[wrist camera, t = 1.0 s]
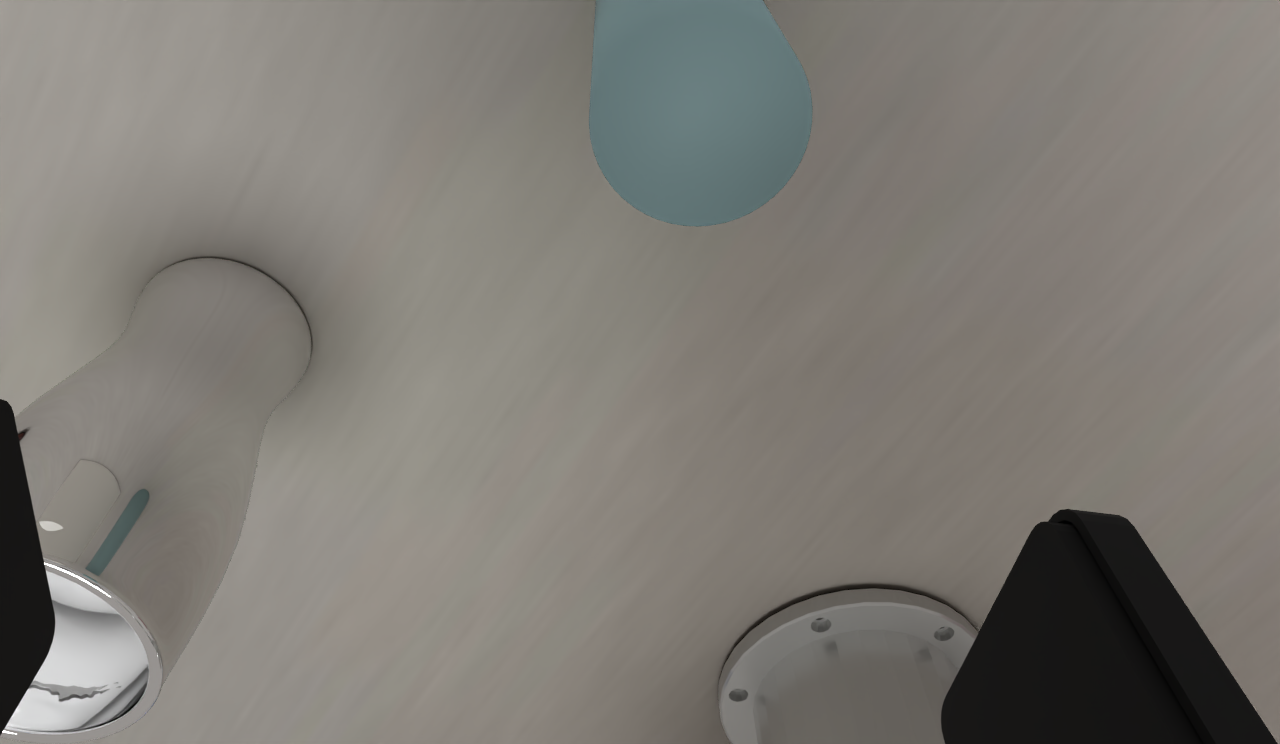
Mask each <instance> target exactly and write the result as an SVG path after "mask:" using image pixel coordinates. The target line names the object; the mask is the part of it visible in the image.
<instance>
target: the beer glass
mask: <svg viewBox="0 0 1280 744" xmlns="http://www.w3.org/2000/svg"><path fill="white" fill-rule="evenodd" d="M310 357H311V335H310V330H309V326H308V323H307V321H306V318H305V316H304V314H303V312H302V310H301V309H300V307H299V306H298V304H297V303H296V301H295V300H294V299H293V298H292V296H291V295H290V294H289V293H288V292H287V291H286V290H285V289H284V288H283V287H282V286H281V285H279V284H278V283H277V282H276V281H274V280H273V279H271V278H270V277H269V276H267V275H265V274H264V273H262V272H260V271H258V270H256V269H254V268H252V267H250V266H247V265H245V264H242V263H238V262H235V261H231V260H226V259H219V258H196V259H190V260H185V261H182V262H179V263H176V264H173V265H171V266H169V267H167V268H165V269H164V270H162V271H161V272H159V273H158V274H156V275H155V276H154V277H153V278H152V279H151V280H150V281H149V282H148V284H147V285H146V286H145V288H144V289H143V290H142V292H141V294H140V296H139V298H138V300H137V302H136V304H135V306H134V309H133V311H132V314H131V316H130V319H129V321H128V324H127V326H126V328H125V330H124V332H123V333H122V334H121V336H120V337H119V338H118V339H117V340H116V341H115V342H114V343H113V344H112V345H111V346H110V347H109V348H108V349H106V350H105V351H104V352H102V353H101V354H100V355H98V356H97V357H96V358H94V359H93V360H92V361H90V362H89V363H87V364H86V365H84V366H83V367H81V368H80V369H79V370H77V371H76V372H74V373H73V374H71V375H70V376H68V377H67V378H66V379H64V380H63V381H61V382H60V383H58V384H57V385H56V386H54V387H53V388H51V389H50V390H49V391H47V392H46V393H44V394H43V395H42V396H40V397H39V398H38V399H36V400H35V401H34V402H33V403H31V404H30V405H29V406H28V407H26V408H25V409H24V410H23V411H21V412H20V413H19V414H18V415H17V416H15V422H16V427H17V432H18V437H19V442H20V447H21V451H22V456H23V461H24V466H25V471H26V476H27V481H28V486H29V491H30V496H31V501H32V505H33V510H34V515H35V520H36V525H37V530H38V535H39V540H40V545H41V550H42V554H43V559H44V564H45V569H46V574H47V579H48V584H49V589H50V594H51V599H52V604H53V608H54V613H55V633H54V637H53V642H52V645H51V648H50V651H49V653H48V655H47V657H46V659H45V661H44V663H43V664H42V666H41V668H40V670H39V671H38V673H37V675H36V676H35V678H34V680H33V681H32V683H31V685H30V686H29V688H28V690H27V691H26V693H25V695H24V697H23V698H22V700H21V702H20V703H19V705H18V707H17V708H16V710H15V712H14V713H13V715H12V717H11V719H10V720H9V722H8V724H7V725H6V727H5V729H4V730H3V732H2V734H1V735H0V737H2V738H6V739H11V740H17V741H23V742H31V743H42V744H68V743H79V742H86V741H91V740H96V739H100V738H103V737H107V736H110V735H112V734H115V733H117V732H119V731H122V730H124V729H126V728H127V727H129V726H131V725H132V724H134V723H135V722H137V721H138V720H139V719H141V718H142V717H143V716H144V715H145V714H146V713H147V712H148V711H149V710H150V709H151V707H152V706H153V705H154V703H155V702H156V700H157V698H158V696H159V694H160V691H161V688H162V686H163V684H164V683H165V681H166V679H167V678H168V676H169V674H170V672H171V671H172V669H173V667H174V666H175V664H176V663H177V661H178V659H179V658H180V656H181V654H182V653H183V651H184V650H185V648H186V646H187V645H188V643H189V641H190V639H191V638H192V636H193V634H194V633H195V631H196V629H197V627H198V626H199V624H200V622H201V621H202V619H203V617H204V615H205V613H206V611H207V609H208V608H209V606H210V604H211V602H212V600H213V598H214V596H215V594H216V592H217V590H218V588H219V586H220V584H221V582H222V580H223V578H224V576H225V573H226V571H227V568H228V566H229V563H230V561H231V559H232V556H233V554H234V551H235V549H236V547H237V544H238V541H239V538H240V534H241V531H242V527H243V524H244V520H245V517H246V513H247V509H248V506H249V502H250V497H251V492H252V487H253V482H254V477H255V472H256V467H257V462H258V456H259V451H260V446H261V441H262V437H263V433H264V429H265V427H266V424H267V422H268V419H269V417H270V416H271V414H272V412H273V411H274V410H275V409H276V407H277V406H278V405H279V404H280V403H281V402H282V401H283V400H284V399H285V398H286V397H287V396H288V395H289V394H290V393H291V392H292V391H293V389H294V388H295V387H296V386H297V385H298V383H299V382H300V380H301V379H302V377H303V376H304V374H305V372H306V370H307V368H308V365H309V361H310Z"/></svg>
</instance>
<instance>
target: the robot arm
mask: <svg viewBox="0 0 1280 744" xmlns="http://www.w3.org/2000/svg"><path fill="white" fill-rule="evenodd" d="M54 633H55V613H54V608H53V604H52V599H51V594H50V589H49V584H48V579H47V574H46V569H45V564H44V559H43V554H42V550H41V545H40V540H39V535H38V530H37V525H36V520H35V515H34V510H33V505H32V501H31V496H30V491H29V486H28V481H27V476H26V471H25V466H24V461H23V456H22V451H21V447H20V442H19V437H18V432H17V427H16V422H15V417H14V413H13V410H12V407H11V406H10V405H9V403H8V402H7V401H4V400H2V399H0V735H1V734H2V732H3V730H4V729H5V727H6V725H7V724H8V722H9V720H10V719H11V717H12V715H13V713H14V712H15V710H16V708H17V707H18V705H19V703H20V702H21V700H22V698H23V697H24V695H25V693H26V691H27V690H28V688H29V686H30V685H31V683H32V681H33V680H34V678H35V676H36V675H37V673H38V671H39V670H40V668H41V666H42V664H43V663H44V661H45V659H46V657H47V655H48V653H49V651H50V648H51V645H52V642H53V637H54ZM718 704H719V711H720V718H721V724H722V726H723V729H724V731H725V733H726V736H727V738H728V740H729V741H730V742H731V744H1277V742H1276V741H1275V739H1274V738H1273V736H1272V735H1271V733H1270V732H1269V730H1268V729H1267V727H1266V726H1265V724H1264V722H1263V721H1262V719H1261V718H1260V716H1259V715H1258V713H1257V712H1256V710H1255V709H1254V707H1253V706H1252V704H1251V703H1250V701H1249V700H1248V698H1247V697H1246V695H1245V694H1244V692H1243V691H1242V689H1241V688H1240V686H1239V685H1238V683H1237V682H1236V680H1235V679H1234V677H1233V676H1232V674H1231V673H1230V671H1229V670H1228V668H1227V666H1226V665H1225V663H1224V662H1223V660H1222V659H1221V657H1220V656H1219V654H1218V653H1217V651H1216V650H1215V648H1214V647H1213V645H1212V644H1211V642H1210V641H1209V639H1208V638H1207V636H1206V635H1205V633H1204V632H1203V630H1202V629H1201V627H1200V626H1199V624H1198V623H1197V621H1196V620H1195V618H1194V617H1193V615H1192V614H1191V612H1190V610H1189V609H1188V607H1187V606H1186V604H1185V603H1184V601H1183V600H1182V598H1181V597H1180V595H1179V594H1178V592H1177V591H1176V589H1175V588H1174V586H1173V585H1172V583H1171V582H1170V580H1169V579H1168V577H1167V576H1166V574H1165V573H1164V571H1163V570H1162V568H1161V567H1160V565H1159V564H1158V562H1157V561H1156V559H1155V558H1154V556H1153V554H1152V553H1151V551H1150V550H1149V548H1148V547H1147V545H1146V544H1145V542H1144V541H1143V539H1142V538H1141V536H1140V535H1139V533H1138V532H1137V530H1136V529H1135V527H1134V526H1133V525H1132V524H1131V523H1130V522H1129V521H1128V519H1126V518H1124V517H1122V516H1119V515H1112V514H1104V513H1096V512H1087V511H1079V510H1070V509H1065V510H1060V511H1058V512H1057V513H1055V514H1054V515H1053V516H1052V517H1051V519H1050V520H1049V521H1048V522H1040V523H1039V524H1037V525H1036V526H1035V527H1034V529H1033V530H1032V531H1031V533H1030V535H1029V537H1028V539H1027V541H1026V543H1025V545H1024V547H1023V548H1022V550H1021V552H1020V554H1019V556H1018V558H1017V560H1016V562H1015V564H1014V566H1013V568H1012V570H1011V572H1010V573H1009V575H1008V577H1007V579H1006V581H1005V583H1004V585H1003V587H1002V589H1001V591H1000V593H999V595H998V597H997V598H996V600H995V602H994V604H993V606H992V608H991V610H990V612H989V614H988V616H987V618H986V620H985V622H984V624H983V625H982V627H981V629H980V631H979V633H978V632H977V631H976V629H975V628H974V627H973V626H972V625H971V624H970V623H969V622H968V621H967V620H966V618H965V617H963V616H962V615H960V614H959V613H957V612H956V611H954V610H953V609H952V608H950V607H949V606H947V605H945V604H943V603H940V602H938V601H935V600H933V599H931V598H928V597H926V596H922V595H918V594H914V593H909V592H905V591H901V590H888V589H875V588H872V589H857V590H844V591H839V592H834V593H829V594H825V595H820V596H816V597H814V598H811V599H808V600H805V601H802V602H799V603H796V604H794V605H791V606H790V607H788V608H786V609H784V610H782V611H780V612H778V613H776V614H774V615H772V616H770V617H769V618H767V619H766V620H765V621H763V622H762V623H761V624H759V625H758V626H757V627H755V628H754V629H753V630H751V631H750V632H749V633H748V634H747V635H746V636H745V637H744V638H743V639H742V641H741V642H740V643H739V644H738V645H737V646H736V647H735V648H734V650H733V651H732V653H731V655H730V656H729V658H728V660H727V661H726V663H725V665H724V667H723V670H722V673H721V677H720V680H719V684H718Z"/></svg>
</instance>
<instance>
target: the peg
mask: <svg viewBox="0 0 1280 744" xmlns="http://www.w3.org/2000/svg"><path fill="white" fill-rule="evenodd" d="M811 125H812V99H811V92H810V88H809V84H808V80H807V77H806V75H805V72H804V70H803V67H802V65H801V63H800V62H799V60H798V58H797V57H796V55H795V53H794V52H793V50H792V48H791V47H790V45H789V43H788V42H787V40H786V38H785V37H784V35H783V33H782V32H781V30H780V28H779V27H778V25H777V23H776V22H775V20H774V18H773V17H772V15H771V13H770V12H769V10H768V8H767V7H766V5H765V3H764V2H763V0H596V7H595V24H594V42H593V59H592V77H591V94H590V113H589V129H590V139H591V143H592V147H593V151H594V154H595V157H596V160H597V162H598V165H599V167H600V169H601V170H602V172H603V174H604V176H605V178H606V179H607V180H608V182H609V183H610V185H611V186H612V187H613V189H614V190H615V191H616V192H617V193H618V194H619V195H620V196H621V197H622V198H623V199H624V200H626V201H627V202H628V203H629V204H631V205H632V206H633V207H634V208H636V209H638V210H639V211H641V212H643V213H644V214H646V215H649V216H651V217H653V218H655V219H658V220H661V221H664V222H668V223H671V224H677V225H683V226H709V225H716V224H721V223H726V222H729V221H732V220H735V219H738V218H740V217H742V216H745V215H747V214H749V213H751V212H753V211H754V210H756V209H758V208H759V207H761V206H762V205H764V204H765V203H766V202H768V201H769V200H770V199H771V198H773V197H774V196H775V195H776V194H777V193H778V192H779V191H780V190H781V189H782V188H783V187H784V186H785V185H786V183H787V182H788V181H789V179H790V178H791V177H792V175H793V174H794V172H795V171H796V169H797V167H798V166H799V164H800V162H801V160H802V157H803V155H804V153H805V150H806V147H807V144H808V141H809V137H810V132H811Z"/></svg>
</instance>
